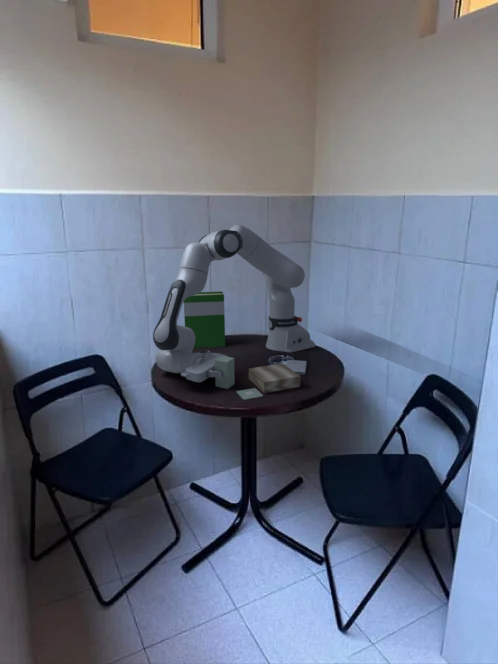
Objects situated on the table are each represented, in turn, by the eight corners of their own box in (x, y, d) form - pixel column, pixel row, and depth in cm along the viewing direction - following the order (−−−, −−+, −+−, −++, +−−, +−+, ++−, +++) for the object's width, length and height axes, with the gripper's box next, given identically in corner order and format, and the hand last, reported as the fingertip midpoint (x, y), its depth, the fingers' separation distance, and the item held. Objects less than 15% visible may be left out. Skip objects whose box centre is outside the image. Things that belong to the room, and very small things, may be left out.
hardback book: (223, 341, 209) (222, 291, 203) (225, 346, 202) (224, 294, 196) (185, 343, 207) (183, 292, 200) (186, 348, 200) (183, 296, 193)
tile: (255, 388, 157) (255, 387, 157) (263, 396, 151) (263, 395, 151) (236, 392, 154) (236, 390, 154) (244, 400, 148) (243, 398, 148)
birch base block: (282, 373, 171) (282, 363, 170) (300, 386, 159) (300, 376, 157) (248, 378, 166) (248, 368, 165) (264, 393, 153) (264, 382, 152)
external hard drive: (283, 374, 171) (286, 363, 183) (305, 376, 170) (306, 364, 181) (283, 370, 170) (286, 359, 182) (305, 372, 169) (306, 360, 181)
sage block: (222, 381, 164) (222, 355, 161) (234, 383, 161) (234, 357, 159) (215, 386, 159) (214, 360, 157) (227, 388, 157) (227, 362, 154)
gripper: (177, 366, 155) (211, 372, 149) (208, 348, 172) (240, 354, 166) (178, 382, 157) (211, 390, 151) (209, 364, 174) (240, 370, 168)
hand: (227, 371), depth 159 cm, fingers open, 5 cm apart
